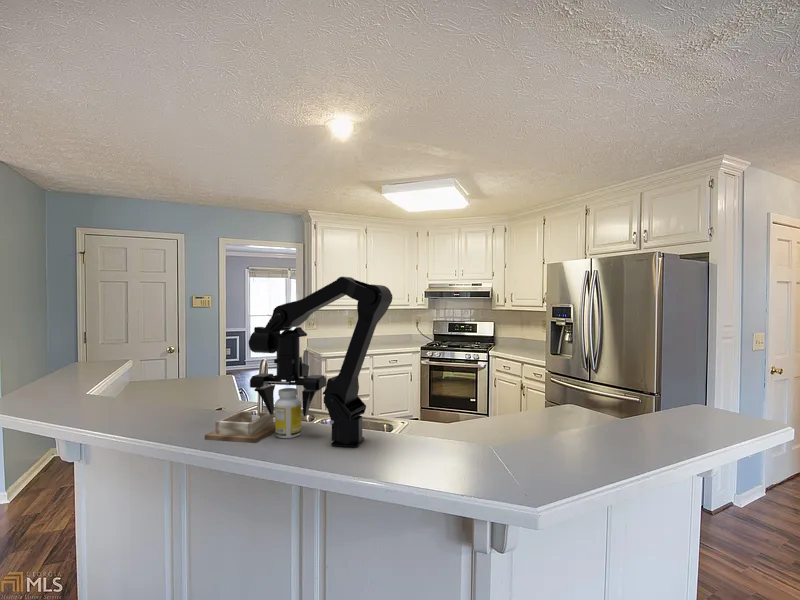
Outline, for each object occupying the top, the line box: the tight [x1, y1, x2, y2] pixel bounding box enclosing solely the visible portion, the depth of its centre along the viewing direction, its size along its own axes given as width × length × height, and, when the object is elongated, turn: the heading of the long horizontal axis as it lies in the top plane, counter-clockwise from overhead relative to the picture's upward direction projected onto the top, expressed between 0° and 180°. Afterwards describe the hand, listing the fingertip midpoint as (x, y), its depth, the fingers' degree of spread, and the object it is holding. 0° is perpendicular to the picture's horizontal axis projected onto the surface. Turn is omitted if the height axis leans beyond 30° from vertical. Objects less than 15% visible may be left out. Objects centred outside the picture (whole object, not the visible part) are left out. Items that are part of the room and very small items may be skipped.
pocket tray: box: [204, 410, 275, 444], centre depth 112 cm, size 14×14×4 cm
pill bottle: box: [274, 387, 302, 439], centre depth 110 cm, size 6×6×12 cm
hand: (288, 415), depth 110 cm, fingers open, 9 cm apart
